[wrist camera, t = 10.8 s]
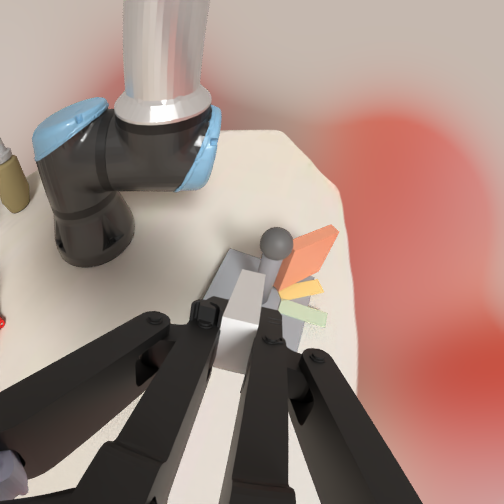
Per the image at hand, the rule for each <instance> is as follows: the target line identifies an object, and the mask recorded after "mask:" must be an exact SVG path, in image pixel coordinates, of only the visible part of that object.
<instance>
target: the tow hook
mask: <svg viewBox="0 0 504 504" xmlns="http://www.w3.org/2000/svg"><path fill="white" fill-rule="evenodd" d="M4 325H5V322H4V320H3V319H2V318H1V317H0V328H2V327H4Z"/></svg>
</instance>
